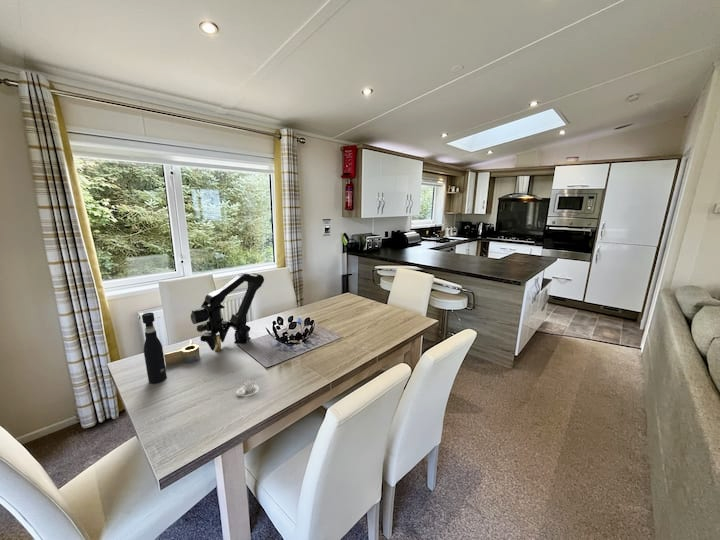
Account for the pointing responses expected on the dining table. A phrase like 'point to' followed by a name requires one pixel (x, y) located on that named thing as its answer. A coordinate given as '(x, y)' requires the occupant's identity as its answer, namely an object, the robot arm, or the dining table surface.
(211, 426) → the dining table surface
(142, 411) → the dining table surface
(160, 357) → the black water bottle
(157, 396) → the dining table surface
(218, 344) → the hinge pin
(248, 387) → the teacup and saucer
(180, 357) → the hinge
